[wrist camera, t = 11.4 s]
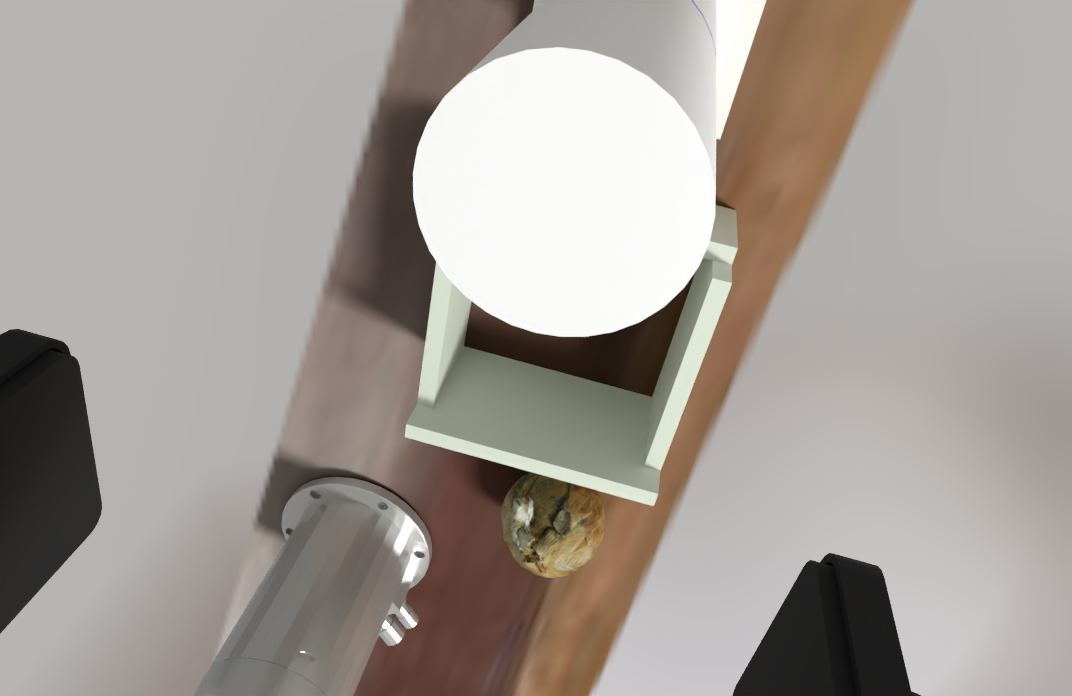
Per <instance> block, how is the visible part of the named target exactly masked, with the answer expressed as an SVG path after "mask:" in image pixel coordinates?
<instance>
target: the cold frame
mask: <svg viewBox="0 0 1072 696" xmlns="http://www.w3.org/2000/svg"><path fill="white" fill-rule="evenodd" d="M737 249H738V240H737V219H736V210H733V209H729V208H725V207H722V206H718V205H715V220H714V224H713V229H712V234H711V239H710V243H709V245H708V247H707V250H706V252H705V254H704V256H703V259H702V261H701V263H700V266H699V267H698V269H697V270H696V272H695V275H694V278H693V281H692V284H691V287H690V290H689V292H688V295H687V298H686V301H685V304H684V307H683V310H682V312H681V315H680V318H679V321H678V324H677V327H676V330H675V333H674V335H673V338H672V341H671V344H670V347H669V350H668V353H667V355H666V358H665V361H664V364H663V367H662V370H661V373H660V376H659V378H658V381H657V384H656V387H655V390H654V393H653V396H652V397H650V396H646V395H643V394H639V393H635V392H632V391H628V390H624V389H621V388H617V387H613V386H609V385H606V384H602V383H598V382H595V381H591V380H587V379H584V378H580V377H576V376H573V375H569V374H565V373H561V372H558V371H554V370H550V369H547V368H543V367H539V366H536V365H532V364H528V363H525V362H521V361H517V360H513V359H510V358H506V357H502V356H499V355H495V354H491V353H488V352H484V351H480V350H477V349H473V348H469V347H465V346H464V343H465V337H466V331H467V325H468V319H469V313H470V307H471V300H470V299H468V298H467V297H466V296H464V295H463V293H462V292H461V291H460V290H459V289H458V288H457V287H456V286H455V285H454V284H453V283H452V282H451V281H450V280H449V279H448V278H447V277H446V276H445V274H444V273H443V271H442V270H441V268H440V266H439V265H438V263H437V262H436V267H435V274H434V282H433V289H432V297H431V304H430V312H429V319H428V327H427V334H426V342H425V349H424V357H423V364H422V372H421V379H420V387H419V394H418V402H417V405H416V407H415V409H414V411H413V413H412V415H411V416H410V418H409V420H408V422H407V424H406V432H405V437H407V438H410V439H414V440H417V441H421V442H425V443H428V444H432V445H435V446H439V447H443V448H446V449H450V450H453V451H457V452H461V453H464V454H468V455H471V456H475V457H479V458H482V459H486V460H489V461H493V462H497V463H500V464H504V465H507V466H511V467H515V468H518V469H522V470H525V471H529V472H533V473H536V474H540V475H543V476H547V477H551V478H554V479H558V480H561V481H565V482H568V483H572V484H576V485H579V486H583V487H586V488H590V489H594V490H597V491H601V492H604V493H608V494H612V495H615V496H619V497H622V498H626V499H630V500H633V501H637V502H640V503H644V504H648V505H651V506H654V504H655V501H656V499H657V496H658V492H659V481H660V471H661V468H662V465H663V463H664V460H665V458H666V455H667V452H668V450H669V447H670V444H671V442H672V439H673V437H674V434H675V431H676V429H677V426H678V424H679V421H680V418H681V416H682V413H683V410H684V408H685V405H686V403H687V400H688V397H689V395H690V392H691V390H692V387H693V384H694V382H695V379H696V376H697V374H698V371H699V369H700V366H701V363H702V361H703V358H704V356H705V353H706V350H707V348H708V345H709V342H710V340H711V337H712V335H713V332H714V329H715V327H716V324H717V322H718V319H719V316H720V314H721V311H722V308H723V306H724V303H725V301H726V298H727V295H728V293H729V290H730V288H731V285H732V263H733V260H734V257H735V255H736V252H737Z"/></svg>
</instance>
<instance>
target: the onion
mask: <svg viewBox="0 0 1072 696" xmlns="http://www.w3.org/2000/svg"><path fill="white" fill-rule="evenodd" d="M501 518H502V529H503V538H504V540H505V541H506V543H507V545H508V547H509V550H510V552H511V554H512V555H513V557H514V558H515V560H516V561H517V563H518V564H520V565H521V566H522V567H524V568H526V569H528V570H529V571H531V572H533V573H534V574H536V575H540V576H543V577H545V578H554V577H562V576H566V575H568V574H570V573H572V572H574V571H576V570H578V569H579V568H581V567H582V566H583V565H585V564H586V563H587V562H588V561H589V560H590V559H591V558H592V557H593V555H594V554H595V552H596V550H597V548H598V546H599V544H600V542H601V540H602V538H603V534H604V531H605V515H604V508H603V503H602V500H601V498H600V496H599V494H598V492H597V491H596V490H594V489H590V488H586V487H583V486H579V485H576V484H572V483H568V482H565V481H561V480H558V479H554V478H551V477H547V476H543V475H540V474H536V473H533V472H530V473H528V474H526V475H524V476H522V477H521V478H520V479H519V480H518V481H517V482H516V483H515V484H514V485H513V486H512V488H511V489H510V491H509V492H508V493H507V495H506V497H505V499H504V501H503V504H502V511H501Z"/></svg>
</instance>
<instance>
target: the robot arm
mask: <svg viewBox="0 0 1072 696" xmlns="http://www.w3.org/2000/svg"><path fill="white" fill-rule="evenodd" d="M101 510H102V502H101V495H100V489H99V483H98V478H97V471H96V465H95V459H94V453H93V446H92V440H91V434H90V428H89V421H88V416H87V409H86V403H85V397H84V391H83V384H82V378H81V372H80V366H79V363H78V360H77V359H76V358H75V357H73V356H71V354H70V351H69V348H68V346H67V345H66V344H65V343H64V342H62V341H59V340H56V339H52V338H49V337H45V336H42V335H38V334H34V333H31V332H27V331H24V330H20V329H14V330H9V331H7V332H5V333H3V334H1V335H0V633H1V632H2V631H3V630H4V629H5V628H6V626H7V625H8V624H9V623H10V622H11V621H12V620H13V619H14V618H15V617H16V615H17V614H18V613H19V612H20V611H21V610H22V609H23V608H24V607H25V605H26V604H27V603H28V602H29V601H30V600H31V599H32V598H33V597H34V596H35V594H36V593H37V592H38V591H39V590H40V589H41V588H42V587H43V585H44V584H45V583H46V582H47V581H48V580H49V579H50V577H52V576H53V574H54V573H55V572H56V571H57V570H58V569H59V568H60V567H61V566H62V565H63V563H64V562H65V561H66V560H67V559H68V558H69V557H70V556H71V555H72V553H73V552H74V551H75V550H76V549H77V548H78V547H79V546H80V545H81V544H82V542H83V541H84V540H85V539H86V538H87V537H88V536H89V535H90V533H91V532H92V531H93V530H94V528H95V526H96V525H97V523H98V520H99V518H100V515H101ZM281 524H282V531H283V534H284V537H285V540H286V543H285V545H284V546H283V548H282V550H281V551H280V553H279V555H278V556H277V558H276V559H275V561H274V563H273V564H272V566H271V568H270V569H269V571H268V573H267V574H266V576H265V578H264V579H263V581H262V582H261V584H260V586H259V587H258V589H257V591H256V592H255V594H254V596H253V597H252V599H251V600H250V602H249V604H248V605H247V607H246V609H245V610H244V612H243V614H242V615H241V617H240V619H239V620H238V622H237V623H236V625H235V627H234V628H233V630H232V632H231V633H230V635H229V637H228V638H227V640H226V641H225V643H224V645H223V646H222V648H221V650H220V651H219V653H218V655H217V656H216V658H215V660H214V661H213V663H212V664H211V666H210V668H209V669H208V671H207V672H206V674H205V675H204V677H203V679H202V680H201V682H200V684H199V685H198V687H197V689H196V691H195V693H194V696H353V695H354V693H355V690H356V688H357V686H358V683H359V681H360V679H361V676H362V674H363V672H364V669H365V667H366V664H367V662H368V660H369V657H370V655H371V653H372V650H373V648H374V646H375V643H376V641H377V638H378V636H380V637H381V638H382V639H383V641H384V642H385V643H386V644H387V645H388V646H393V645H395V644H397V643H398V642H399V641H400V640H401V639H402V638H403V636H404V635H405V629H404V627H403V626H402V625H401V624H400V622H399V621H398V620H397V619H396V617H395V616H394V615H393V614H394V613H395V614H396V615H397V618H398V619H399V620H400V621H401V623H402V624H403V625H404V626H405V628H406V629H410V628H413V627H414V626H415V625H416V624H417V623H418V621H419V617H418V615H417V614H416V613H415V612H414V610H413V609H412V608H411V607H410V606H408V604H407V603H406V595H407V593H408V590H409V589H410V588H412V587H413V586H415V585H416V584H418V582H419V581H420V580H421V579H422V578H423V577H424V575H425V573H426V571H427V569H428V566H429V564H430V560H431V557H432V543H431V539H430V535H429V533H428V531H427V529H426V526H425V524H424V523H423V521H422V520H421V519H420V517H419V516H418V515H417V513H416V512H415V511H414V510H413V509H412V508H411V507H410V506H409V505H408V504H406V503H405V502H404V501H403V500H401V499H400V498H399V497H397V496H396V495H394V494H393V493H391V492H389V491H387V490H385V489H384V488H382V487H380V486H377V485H374V484H372V483H369V482H366V481H362V480H358V479H354V478H346V477H325V478H320V479H316V480H312V481H310V482H308V483H306V484H304V485H302V486H301V487H300V488H298V489H297V490H296V491H295V492H294V493H293V495H292V496H291V498H290V499H289V500H288V502H287V503H286V506H285V508H284V510H283V513H282V520H281ZM733 696H921V695H919V694H916V693H914V692H911V689H910V684H909V680H908V676H907V672H906V668H905V663H904V660H903V655H902V651H901V646H900V642H899V638H898V634H897V630H896V625H895V621H894V617H893V613H892V608H891V604H890V600H889V596H888V592H887V587H886V583H885V579H884V576H883V573H882V570H881V569H880V568H879V567H878V566H876V565H872V564H868V563H865V562H861V561H858V560H854V559H851V558H847V557H843V556H840V555H836V554H831V553H829V554H827V555H826V556H825V557H824V558H823V559H822V561H821V562H820V563H819V562H816V561H811V560H810V561H808V562H807V563H806V564H805V566H804V567H803V569H802V571H801V573H800V574H799V576H798V578H797V580H796V582H795V583H794V585H793V587H792V589H791V590H790V592H789V594H788V595H787V597H786V599H785V601H784V603H783V604H782V606H781V608H780V610H779V611H778V613H777V615H776V617H775V618H774V620H773V622H772V624H771V625H770V627H769V629H768V631H767V633H766V634H765V636H764V638H763V639H762V641H761V643H760V645H759V646H758V648H757V650H756V652H755V653H754V655H753V657H752V659H751V661H750V662H749V664H748V666H747V667H746V669H745V671H744V673H743V674H742V676H741V678H740V680H739V682H738V683H737V685H736V687H735V690H734V693H733Z"/></svg>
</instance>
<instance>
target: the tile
mask: <svg viewBox="0 0 1072 696" xmlns="http://www.w3.org/2000/svg"><path fill="white" fill-rule="evenodd" d="M543 1H545V0H534V5H533V11H534V10H535V9H536V8H537V7H538V6H539V5H540V4H541V3H542V2H543ZM765 3H766V0H717V57H716V139H720V138H721V135H722V132H723V129H724V126H725V123H726V120H727V117H728V114H729V111H730V108H731V105H732V102H733V99H734V96H735V93H736V90H737V87H738V84H739V81H740V78H741V75H742V72H743V69H744V66H745V63H746V60H747V57H748V54H749V51H750V48H751V45H752V42H753V39H754V36H755V33H756V30H757V27H758V24H759V21H760V18H761V15H762V12H763V9H764V6H765ZM533 11H532V12H533Z"/></svg>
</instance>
